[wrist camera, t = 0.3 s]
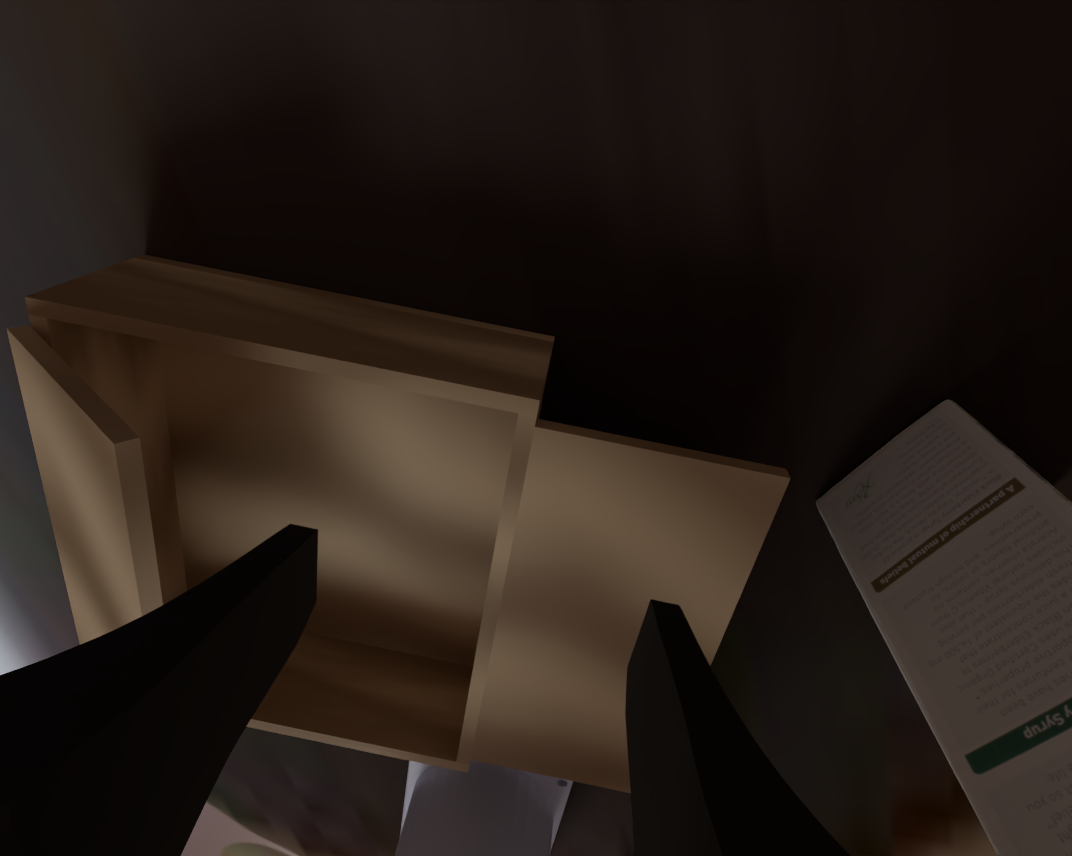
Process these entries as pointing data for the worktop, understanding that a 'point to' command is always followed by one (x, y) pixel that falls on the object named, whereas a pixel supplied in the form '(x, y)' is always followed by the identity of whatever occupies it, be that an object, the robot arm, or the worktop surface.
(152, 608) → the carton flap
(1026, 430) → the worktop surface
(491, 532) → the carton
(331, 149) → the worktop surface
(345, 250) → the worktop surface
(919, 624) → the syrup box
